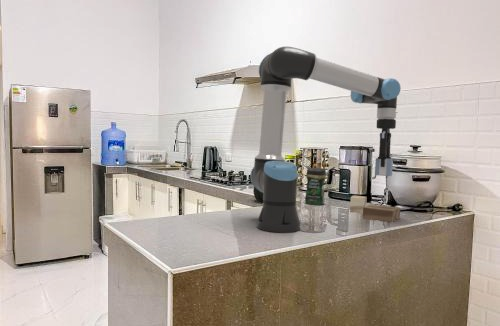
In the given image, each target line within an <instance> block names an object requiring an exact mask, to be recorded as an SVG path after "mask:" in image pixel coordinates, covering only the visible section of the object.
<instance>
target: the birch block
mask: <svg viewBox="0 0 500 326" xmlns="http://www.w3.org/2000/svg"><path fill="white" fill-rule="evenodd" d="M367 199H368V198H367V196H362V195H352V196H350V203H349V204H350V207H349V212H350V213H355V214H363V207H366V206H367V203H368V202H367Z"/></svg>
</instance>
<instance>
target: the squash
mask: <svg viewBox="0 0 500 326" xmlns="http://www.w3.org/2000/svg"><path fill="white" fill-rule="evenodd" d="M253 197H254V199H255V200H256V201H258V202H260V203H263V193H262V192H260V191H258V190H257V189H256V188H255V187H254V186H253Z"/></svg>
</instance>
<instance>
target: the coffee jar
mask: <svg viewBox="0 0 500 326" xmlns="http://www.w3.org/2000/svg"><path fill="white" fill-rule="evenodd" d="M305 177H306V179H307V180H306V183H307V184H306V191H305V200H304V203H306V204H307V205H312V206H313V205H314V206H323V205H324V204H325V200H326V199H325V180H326V177H327V172H326V169H325V168H320V167H307V170H306V175H305Z"/></svg>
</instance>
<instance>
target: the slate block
mask: <svg viewBox="0 0 500 326" xmlns="http://www.w3.org/2000/svg"><path fill="white" fill-rule="evenodd" d="M386 159H387V158H386ZM379 163H380V159H378V157H377V158H375V165H374V166H375V167H374V175H375V176H381V177H383V176H384V177H391V176H393V163H394V159H393V158H391V159H387V166H386V175H379Z"/></svg>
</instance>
